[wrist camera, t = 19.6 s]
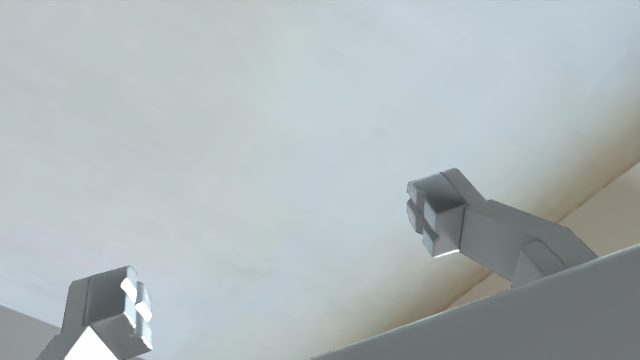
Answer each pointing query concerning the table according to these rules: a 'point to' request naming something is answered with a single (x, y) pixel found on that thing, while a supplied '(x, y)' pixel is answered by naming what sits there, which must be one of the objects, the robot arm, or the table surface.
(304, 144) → the table surface
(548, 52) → the table surface
